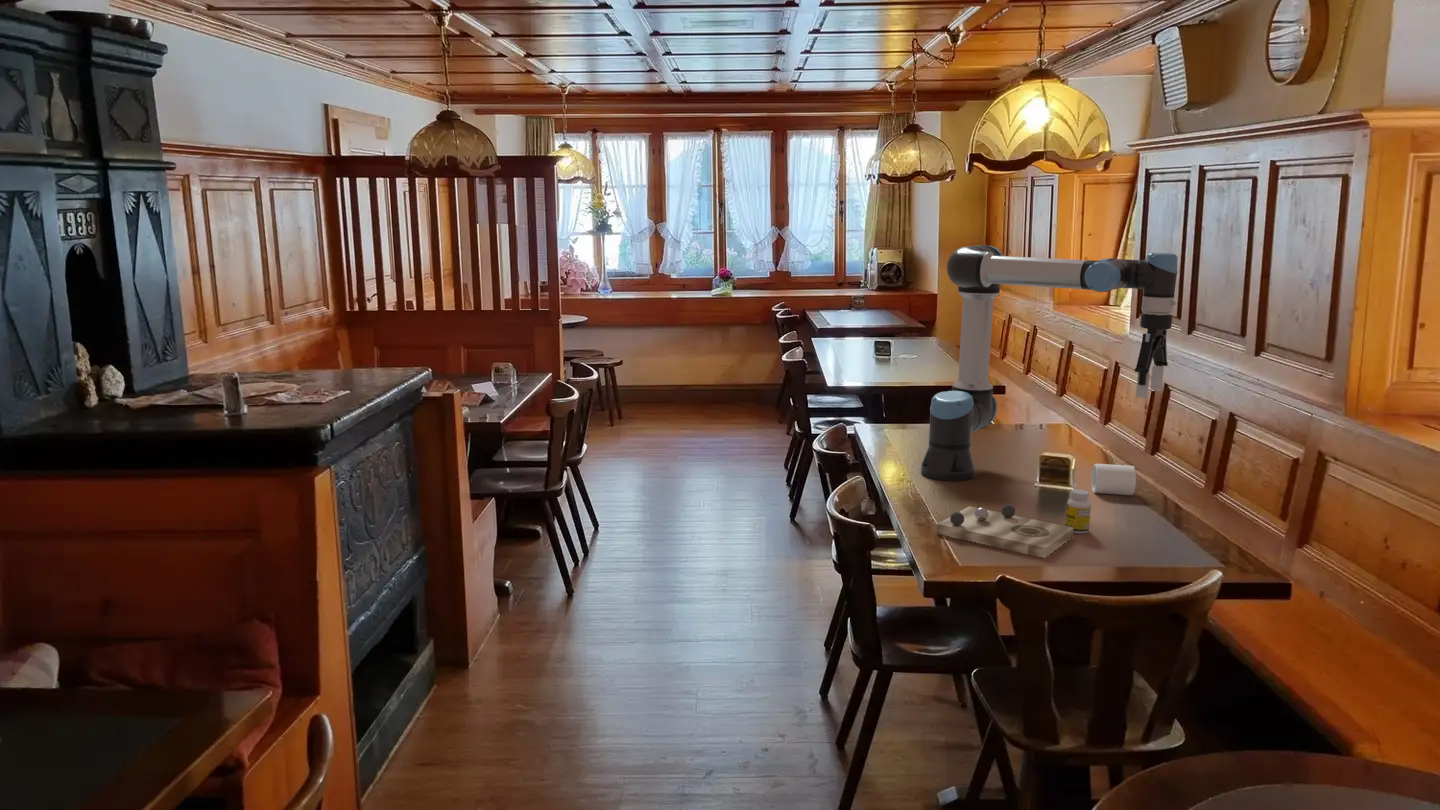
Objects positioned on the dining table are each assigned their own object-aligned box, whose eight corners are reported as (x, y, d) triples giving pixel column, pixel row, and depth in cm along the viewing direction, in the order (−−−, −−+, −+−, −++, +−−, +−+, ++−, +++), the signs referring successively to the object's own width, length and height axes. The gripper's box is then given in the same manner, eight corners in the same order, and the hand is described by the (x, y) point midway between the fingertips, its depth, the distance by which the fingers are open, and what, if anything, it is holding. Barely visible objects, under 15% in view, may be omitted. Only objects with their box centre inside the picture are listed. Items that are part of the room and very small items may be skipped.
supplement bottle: (1061, 527, 245) (1064, 488, 243) (1082, 526, 246) (1086, 488, 244) (1070, 534, 240) (1074, 494, 238) (1092, 534, 240) (1096, 494, 238)
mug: (1134, 499, 269) (1137, 470, 268) (1095, 496, 271) (1097, 467, 270) (1126, 486, 281) (1128, 459, 279) (1088, 484, 283) (1090, 456, 281)
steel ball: (971, 520, 241) (972, 508, 240) (977, 517, 243) (978, 504, 243) (984, 523, 239) (985, 510, 238) (990, 520, 241) (991, 507, 241)
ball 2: (998, 517, 244) (999, 505, 243) (1003, 514, 246) (1004, 501, 245) (1011, 520, 242) (1012, 507, 241) (1016, 517, 244) (1017, 504, 243)
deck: (936, 534, 239) (937, 523, 238) (968, 515, 253) (969, 506, 252) (1045, 558, 223) (1046, 547, 223) (1072, 537, 237) (1073, 527, 237)
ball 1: (947, 525, 237) (948, 512, 237) (953, 522, 240) (954, 509, 239) (960, 528, 235) (961, 515, 235) (966, 525, 238) (966, 511, 237)
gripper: (1159, 318, 250) (1150, 402, 255) (1184, 310, 270) (1176, 388, 274) (1127, 315, 255) (1120, 398, 259) (1154, 308, 274) (1147, 385, 279)
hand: (1148, 393), depth 267 cm, fingers open, 13 cm apart
